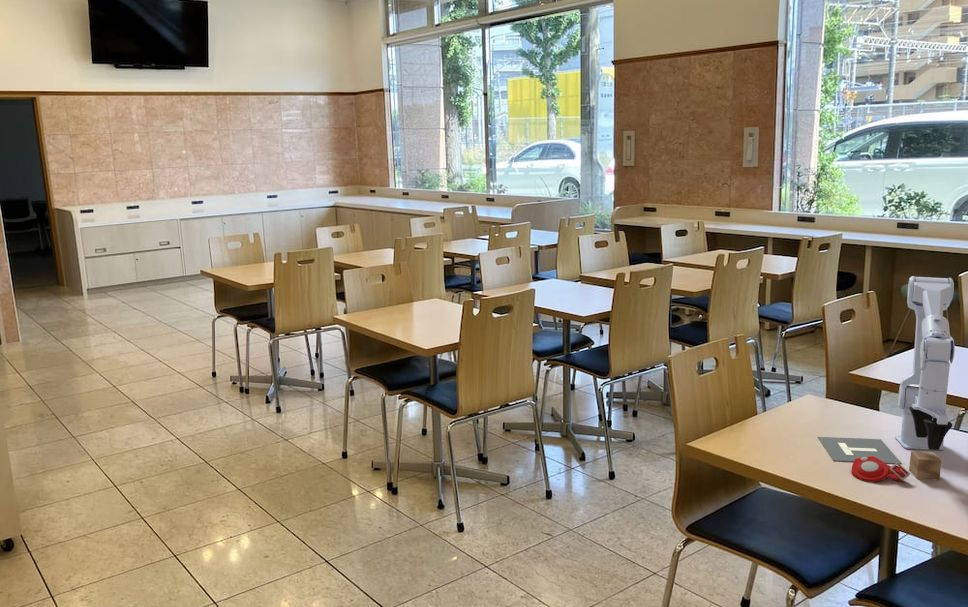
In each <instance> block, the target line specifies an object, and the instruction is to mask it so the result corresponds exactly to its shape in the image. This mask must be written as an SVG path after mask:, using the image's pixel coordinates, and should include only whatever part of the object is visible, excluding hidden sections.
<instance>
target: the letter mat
mask: <svg viewBox="0 0 968 607" xmlns="http://www.w3.org/2000/svg"><path fill="white" fill-rule="evenodd" d="M817 439H818V441H820V443H821V445H822V446H823V447H824V449H825V451H826V452H827V454H828V456H829V457H830V458H831V460H832V461H833V462H846V463H848V462H849V463H853V462H854V460H855V459H856V458H862V457H868V456H874V457H876V458H878V459H879V460H881V461H883V462H884V463H885V464H887V465H890V464H891V465H894V464H896V463H897V462H898V463H899V464H900V465H902V462H901V461H900V459H899V458H898V457H897V456H896V455H895V454H894V453H893V452H892V450H891V449H890V448H889V447H888V446H887V444H886V443H885V442H884V441H883V440H882V439H881V438H860V437H856V438H855V437H836V436H835V437H834V436H833V437H832V436H817Z"/></svg>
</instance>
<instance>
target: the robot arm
mask: <svg viewBox="0 0 968 607" xmlns="http://www.w3.org/2000/svg"><path fill="white" fill-rule="evenodd" d="M954 290H955V283H954V280H953V279H952V277H947V278H946V277H929V276H914V275H911V276H910V277H909V279H908V284H907V299H906V300H907V301H906V303H907V308H909V309H911V310H913V311H914V313H915V314H914V315H915V319H916V320H915V322H916V323H915V334H914V351H913V363H912V365H913V367H912V373H911V374H909V375H907V376H905V377H903V378H902V379H901V380H900V382H899V384H900V385H899V390H898V395H897V396H898V397H897V398H898V400H897V402H898V403H897V404H898V407H899V408H900V410H902V420H901V421H902V422H901V431H900V432H901V433H900V435H895V436H894V438H895V440H897V441H898V443H899V444H900V445H901V447H903V448H904V449H907V450H908V449H909V450H932V451H943V450H945V448H944V442H945V441H944V439H945V436H946V435H947V434H948V432H949V431H950V430H951V429H952V427H953V423H952V422H951V421H949V416H948V415H947V407H946V406H947V405H946V403H947V395H948V394H947V393H948V388H949V377H950V369H951V364H953V363H954V358H955V350H956V346H955V341H954V338H953V337H952V335H951V333H950V324H949V320H948V319H947V318H946V317H945V316H943V315H944V311H947V310H948V308H949V307H950V304H951V302H952V300H953V298H954ZM911 385H915V386H911ZM916 385H917V386H916Z"/></svg>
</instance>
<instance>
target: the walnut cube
mask: <svg viewBox="0 0 968 607" xmlns="http://www.w3.org/2000/svg"><path fill="white" fill-rule="evenodd" d="M941 468H942V459H941V458H940V457H939V456H938V455H937V454H936V453H935V451H921V450H920V451H917V450H914V451H913V450H911V451H910V458H909V468H908V472H909V473H910V474H912V475H913V476H914V478H915V479H916V480H931V481H932V480H933V481H934V480H935V481H940V478H941Z"/></svg>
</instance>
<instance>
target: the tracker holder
mask: <svg viewBox="0 0 968 607" xmlns="http://www.w3.org/2000/svg"><path fill="white" fill-rule="evenodd" d="M850 470H851V472H850V473H851V475H852V476H853V477H855V478H856V479H858V480H861V481H864V482H868V483H878V482H881V481H883V480H885V479H886V478H889V479H891V480H894V481H896V482H902V481H905V480H906V479H907V478H909V476H910V475H911V472H910V471H909V470H907V469H906V468H905V467H904V466H902V464H899V463H898V462H897V463H896V464H892V465H890V464H888V463H884V462H883V461H881V460H879V459H878V458H876V457H874V456H868V457H862V458H856V459H855V460H854V462H852V466H851V469H850Z"/></svg>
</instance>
